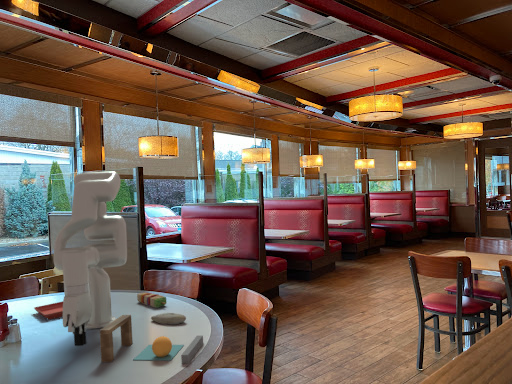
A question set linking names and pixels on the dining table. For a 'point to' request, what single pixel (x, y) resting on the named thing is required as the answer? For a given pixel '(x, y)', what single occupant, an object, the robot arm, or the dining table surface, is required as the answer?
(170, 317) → the decorative stone
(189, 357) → the stopper rail
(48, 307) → the plant saucer
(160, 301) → the skewer
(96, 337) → the dining table surface
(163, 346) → the ball
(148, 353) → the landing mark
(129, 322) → the bridge
